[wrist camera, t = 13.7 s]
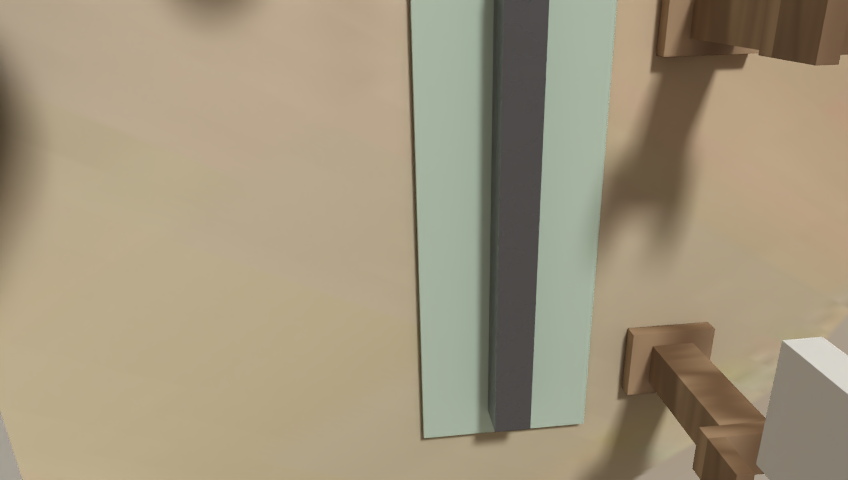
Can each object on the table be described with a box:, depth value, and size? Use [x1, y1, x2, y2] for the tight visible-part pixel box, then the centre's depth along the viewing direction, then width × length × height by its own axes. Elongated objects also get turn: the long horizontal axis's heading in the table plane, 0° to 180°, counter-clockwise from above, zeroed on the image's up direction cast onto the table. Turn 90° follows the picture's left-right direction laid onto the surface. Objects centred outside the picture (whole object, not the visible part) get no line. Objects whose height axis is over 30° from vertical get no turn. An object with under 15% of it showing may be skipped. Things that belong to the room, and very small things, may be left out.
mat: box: [410, 0, 617, 438], centre depth 42 cm, size 12×34×1 cm, turn 1°
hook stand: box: [622, 0, 848, 480], centre depth 37 cm, size 6×29×14 cm, turn 1°
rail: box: [488, 0, 549, 432], centre depth 41 cm, size 2×30×2 cm, turn 2°
